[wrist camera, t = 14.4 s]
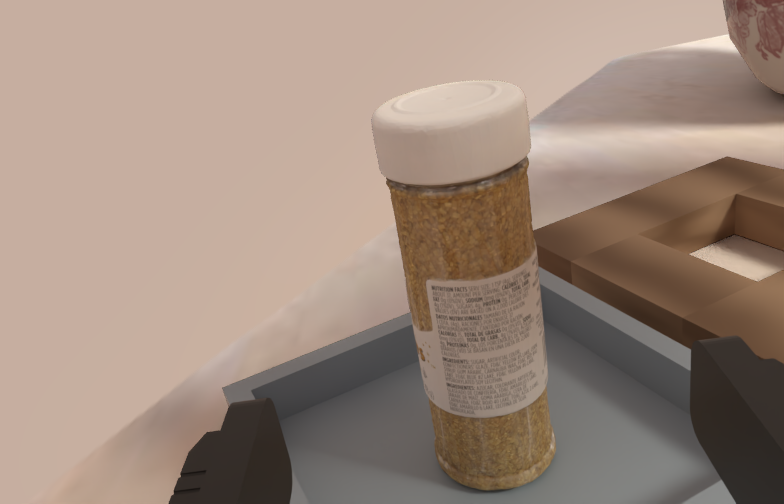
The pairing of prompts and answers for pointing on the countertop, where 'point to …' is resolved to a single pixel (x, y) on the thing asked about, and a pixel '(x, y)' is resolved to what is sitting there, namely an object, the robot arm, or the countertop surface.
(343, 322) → the countertop surface
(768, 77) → the chamber pot
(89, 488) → the countertop surface
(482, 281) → the spice jar
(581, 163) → the countertop surface
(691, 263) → the socket board
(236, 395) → the parts tray
